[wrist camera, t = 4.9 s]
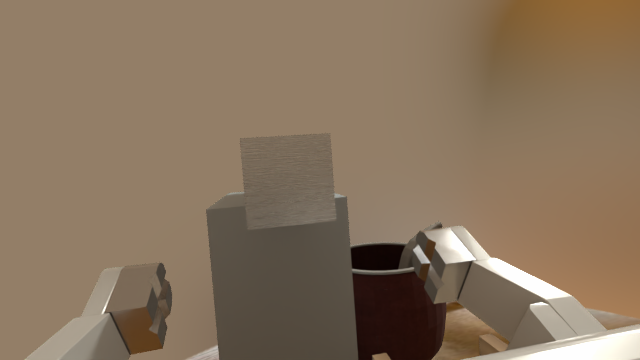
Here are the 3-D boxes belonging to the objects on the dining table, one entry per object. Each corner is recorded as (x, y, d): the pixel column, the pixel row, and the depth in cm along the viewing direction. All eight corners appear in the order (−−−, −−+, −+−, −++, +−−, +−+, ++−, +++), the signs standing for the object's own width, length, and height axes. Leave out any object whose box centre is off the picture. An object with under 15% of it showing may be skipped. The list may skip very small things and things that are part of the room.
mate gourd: (360, 463, 31) (345, 252, 30) (317, 377, 44) (306, 228, 44) (493, 415, 36) (483, 230, 35) (418, 350, 49) (409, 215, 48)
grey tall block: (329, 436, 35) (310, 186, 34) (375, 611, 21) (346, 196, 20) (251, 453, 33) (228, 193, 32) (245, 653, 19) (206, 209, 18)
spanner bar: (287, 189, 31) (285, 157, 31) (336, 220, 11) (329, 133, 11) (255, 192, 31) (252, 159, 30) (247, 230, 11) (239, 138, 11)
